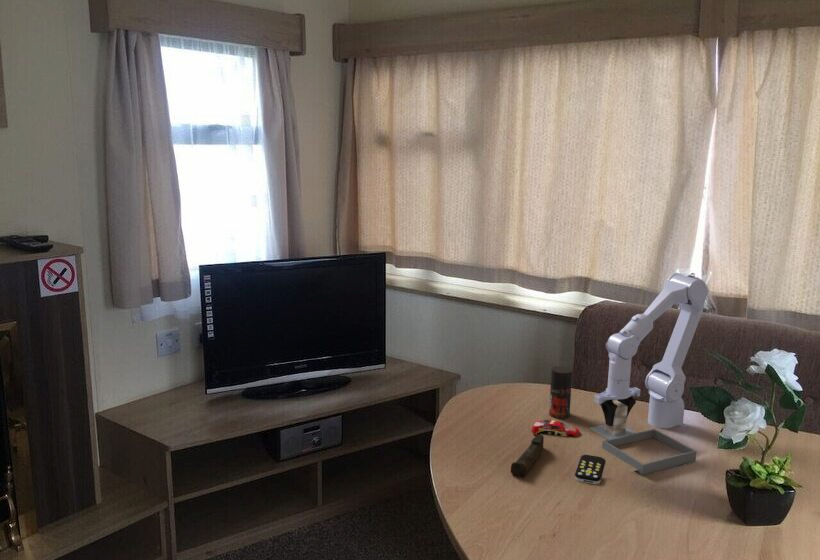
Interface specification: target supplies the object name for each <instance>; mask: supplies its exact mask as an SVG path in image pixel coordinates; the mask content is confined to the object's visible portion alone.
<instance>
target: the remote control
mask: <svg viewBox="0 0 820 560" xmlns="http://www.w3.org/2000/svg"><path fill="white" fill-rule="evenodd" d="M605 464H606V460H605V458H604V457H602V456H596V455H591V454H582V455H581V456H580V459H579V462H578V464H577V468H576V470H575V473H574V479H575V481H577V482H581V483H585V484H592V485H598V484H600V483H601V481H602V479H603V475H602V474H603V471H604V467H605Z"/></svg>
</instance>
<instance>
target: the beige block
mask: <svg viewBox="0 0 820 560" xmlns="http://www.w3.org/2000/svg"><path fill="white" fill-rule="evenodd" d="M613 402H614V404H616V405H617V406H618V407H617V409H616V411H615V415H614V422H613V426H609V425H607V424H606V422H605V421H604V424H605V431H607V432H609V433H610V434H612V435H614V436H615V435H619V434H624V433H626V427H627V420H628V417H627V408H628V406H626V405H625V404H623V403H621V402H619V401H618V400H614V401H613Z"/></svg>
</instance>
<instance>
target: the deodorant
mask: <svg viewBox="0 0 820 560" xmlns="http://www.w3.org/2000/svg"><path fill="white" fill-rule="evenodd" d="M550 371H551V374H550V390H549V391H550V392H549V394H550V395H549V405H548V406H549V409H548V410H549V411H548V415H549V417H550V418H554V419H557V420H565V419H568V418H570V417H571V416H570V414H571V397H572V385H573V383H572V381H573V369H572V368H570V367H569V366H563V365H560V366H558V365H556V366H553V367H552V368H551V370H550Z"/></svg>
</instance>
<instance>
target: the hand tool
mask: <svg viewBox="0 0 820 560" xmlns="http://www.w3.org/2000/svg"><path fill="white" fill-rule="evenodd" d="M544 438H545V437H544V434H540V435H535V437H533V438H532V439H531V442H530V444H529V446H528V447H527V448H526V450H524V452H523V453H522V454H521V455H520V457H518V459H517V460H516V461H515V462H512V463H511V465H510V474H511V475H512V476H513V477H518V478H522V479H523V478H525V477H526V474H527V473H528V470H529V469H530V468H531V466H532V465H533V464H534V463H535V461H536V460H537V459H538V458H540V457H541V455H542V453H543V450H544V449H543V448H544Z"/></svg>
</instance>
